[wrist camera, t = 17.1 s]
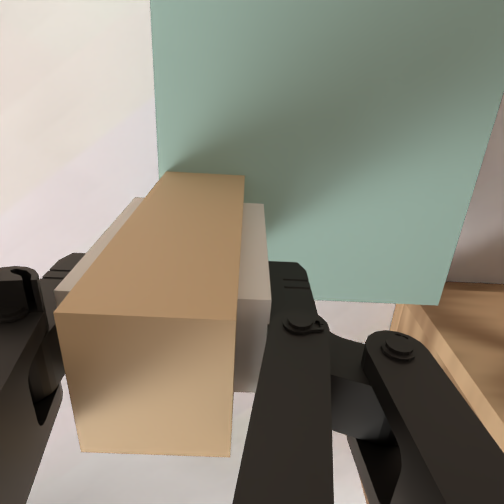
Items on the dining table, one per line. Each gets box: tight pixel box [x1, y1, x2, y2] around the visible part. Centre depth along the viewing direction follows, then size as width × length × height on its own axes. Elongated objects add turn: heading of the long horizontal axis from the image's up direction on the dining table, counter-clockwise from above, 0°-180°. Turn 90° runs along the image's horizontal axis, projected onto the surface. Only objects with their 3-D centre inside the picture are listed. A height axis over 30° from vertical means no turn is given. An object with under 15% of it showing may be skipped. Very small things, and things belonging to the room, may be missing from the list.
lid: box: [53, 0, 504, 457], centre depth 12 cm, size 13×14×12 cm
